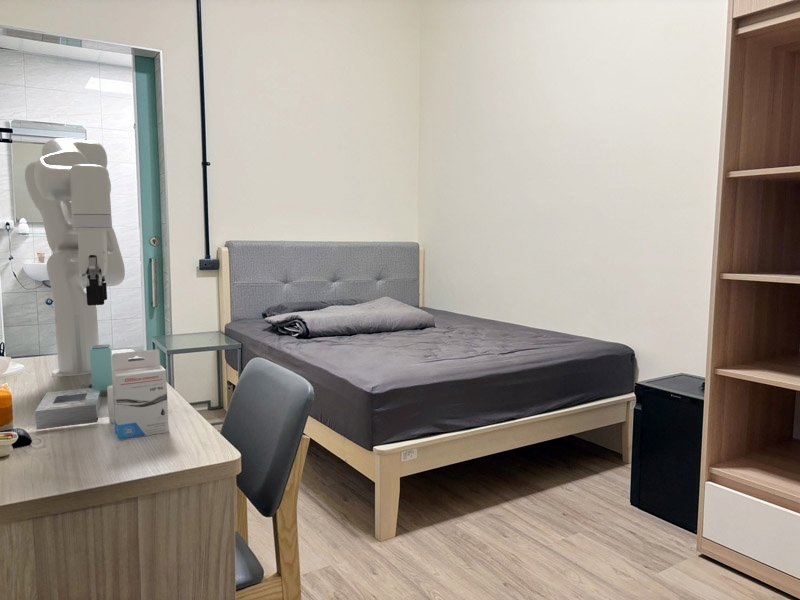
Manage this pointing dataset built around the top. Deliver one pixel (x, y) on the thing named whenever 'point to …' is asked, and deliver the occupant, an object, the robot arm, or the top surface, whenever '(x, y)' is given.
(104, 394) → the grey square socket
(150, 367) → the ink box
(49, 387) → the top surface
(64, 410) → the port
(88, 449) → the top surface
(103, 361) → the plug
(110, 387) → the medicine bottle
